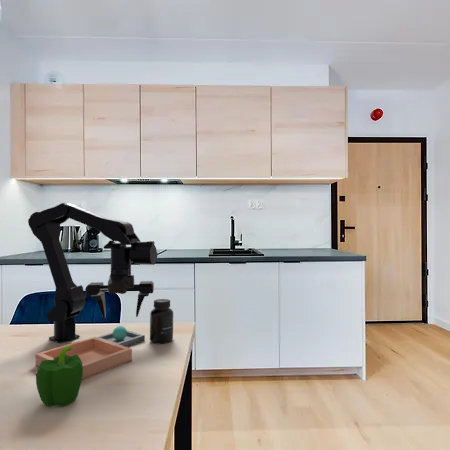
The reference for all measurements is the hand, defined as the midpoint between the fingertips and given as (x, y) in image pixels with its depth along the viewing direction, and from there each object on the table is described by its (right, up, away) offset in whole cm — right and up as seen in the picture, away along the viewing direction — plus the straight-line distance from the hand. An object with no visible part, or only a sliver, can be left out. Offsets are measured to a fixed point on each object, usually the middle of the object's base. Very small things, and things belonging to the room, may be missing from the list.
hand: (120, 317), depth 100 cm
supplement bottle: (+12, -8, +1) cm, 14 cm away
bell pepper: (-1, -7, -34) cm, 35 cm away
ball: (0, -5, 0) cm, 5 cm away
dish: (-4, -7, -16) cm, 18 cm away
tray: (0, -7, 0) cm, 7 cm away
